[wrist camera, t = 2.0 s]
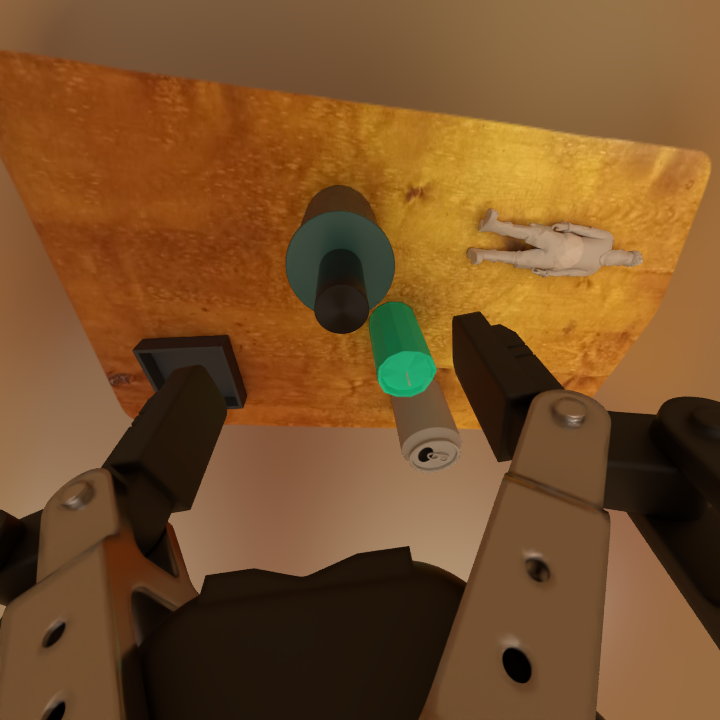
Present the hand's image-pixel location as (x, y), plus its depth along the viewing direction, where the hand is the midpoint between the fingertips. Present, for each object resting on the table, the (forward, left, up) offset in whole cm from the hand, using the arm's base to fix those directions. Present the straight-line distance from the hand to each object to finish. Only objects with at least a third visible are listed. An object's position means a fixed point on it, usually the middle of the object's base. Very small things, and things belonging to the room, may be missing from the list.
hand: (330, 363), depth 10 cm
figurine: (+23, -5, -26) cm, 36 cm away
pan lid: (0, -2, -14) cm, 14 cm away
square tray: (-20, -20, -26) cm, 38 cm away
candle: (+6, -14, -26) cm, 31 cm away
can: (+10, -26, -26) cm, 38 cm away
